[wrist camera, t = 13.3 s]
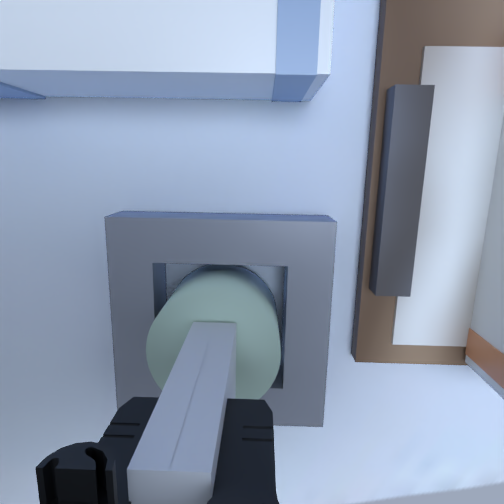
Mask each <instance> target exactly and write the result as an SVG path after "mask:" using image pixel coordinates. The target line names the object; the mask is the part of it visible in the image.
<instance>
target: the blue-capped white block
mask: <svg viewBox="0 0 504 504" xmlns="http://www.w3.org/2000/svg"><path fill="white" fill-rule="evenodd" d="M334 4H335V0H0V98H19V99H46V97H45V96H53V97H116V98H178V99H240V100H272V101H284V102H301V101H302V100H303V101H311V100H312V98H313V97H314V95H315V94H316V93H317V91H318V90H319V89H320V87H321V86H322V85H323V83H324V82H325V81H326V79H327V78H328V77H329V75H330V71H331V54H332V37H333V20H334Z"/></svg>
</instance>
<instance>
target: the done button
mask: <svg viewBox="0 0 504 504" xmlns="http://www.w3.org/2000/svg"><path fill="white" fill-rule="evenodd" d="M193 322H215V323H236V396H235V399H260V398H261V397H262V396H263V395H264V394H265V393H266V392H267V391H268V389H269V388H270V387H271V385H272V384H273V382H274V380H275V378H276V376H277V373H278V370H279V366H280V360H281V347H280V337H279V327H278V318H277V309H276V304H275V300H274V297H273V295H272V293H271V291H270V290H269V288H268V287H267V285H266V284H265V283H264V282H263V280H261V279H260V278H259V277H258V276H257V275H256V274H254V273H253V272H251V271H249V270H247V269H245V268H243V267H240V266H237V265H217V264H212V265H207V266H204V267H201V268H199V269H197V270H195V271H193V272H192V273H190V274H189V275H188V276H187V277H185V278H184V279H183V280H182V282H181V283H180V284H179V285H178V287H177V288H176V290H175V291H174V292H173V294H172V295H171V297H170V298H169V300H168V301H167V302H166V304H165V305H164V307H163V308H162V310H161V311H160V312H159V314H158V315H157V317H156V318H155V320H154V321H153V323H152V325H151V327H150V330H149V333H148V336H147V342H146V358H147V363H148V367H149V370H150V372H151V375H152V377H153V378H154V380H155V382H156V383H157V385H158V386H159V387H160V389H161V390H163V388H164V386H165V384H166V381H167V379H168V377H169V375H170V372H171V370H172V368H173V366H174V364H175V361H176V359H177V357H178V355H179V352H180V350H181V348H182V346H183V344H184V341H185V339H186V337H187V335H188V332H189V330H190V328H191V326H192V324H193Z"/></svg>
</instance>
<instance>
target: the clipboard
mask: <svg viewBox="0 0 504 504" xmlns="http://www.w3.org/2000/svg"><path fill="white" fill-rule="evenodd" d="M503 116H504V0H381V4H380V16H379V28H378V40H377V52H376V64H375V76H374V88H373V100H372V112H371V124H370V136H369V148H368V160H367V172H366V184H365V196H364V208H363V220H362V232H361V244H360V255H359V267H358V279H357V291H356V303H355V315H354V327H353V339H352V351H351V354H352V356H353V358H354V360H355V362H374V363H407V364H441V365H468V364H467V363H466V362H465V358H466V354H465V351H466V344H467V338H468V332H469V328H470V326H471V320H472V314H473V307H474V301H475V295H476V288H477V282H478V275H479V269H480V263H481V256H482V250H483V244H484V237H485V231H486V224H487V218H488V212H489V205H490V199H491V193H492V186H493V180H494V173H495V167H496V161H497V154H498V148H499V142H500V135H501V129H502V122H503Z"/></svg>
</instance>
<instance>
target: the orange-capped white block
mask: <svg viewBox="0 0 504 504" xmlns="http://www.w3.org/2000/svg"><path fill="white" fill-rule="evenodd" d="M465 354H466V358H465V362H466V363H467V364H468V365H469V366H470V367H471V368H472V369H473V370H474V371H475V372H476V373H477V374H478V375H479V376H480V377H481V378H482V379H483V380H484V381H485V382H486V383H487V384H488V385H489V386H490V387H492V388H493V389H494V390H495V391H496V392H497V393H498V394H499V395H500V396H501V397H502V398H503V399H504V116H503V122H502V129H501V135H500V142H499V148H498V154H497V161H496V167H495V173H494V180H493V186H492V193H491V199H490V205H489V212H488V218H487V224H486V231H485V237H484V244H483V250H482V256H481V263H480V269H479V275H478V282H477V288H476V295H475V301H474V307H473V314H472V320H471V326H470V328H469V332H468V338H467V344H466V351H465Z"/></svg>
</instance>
